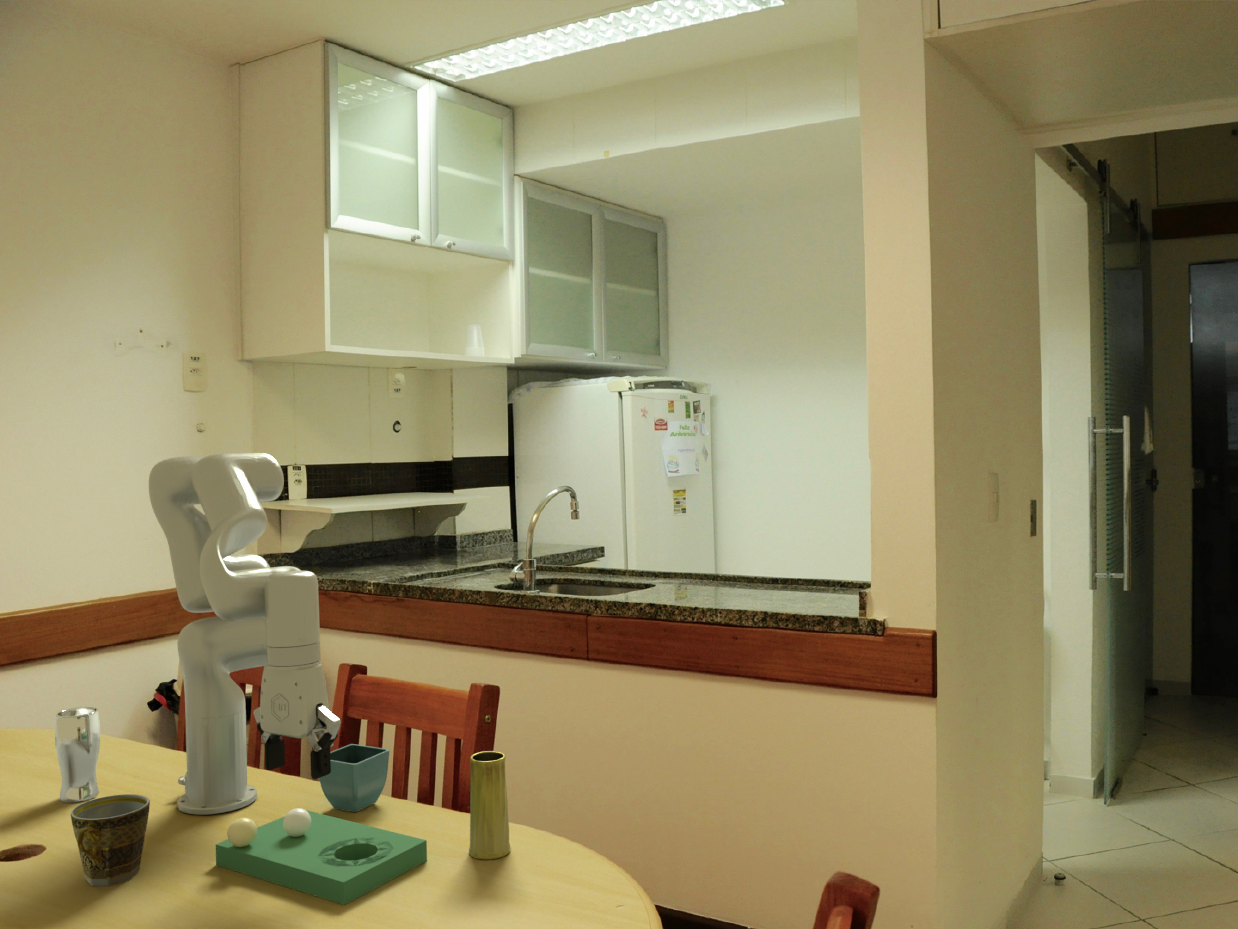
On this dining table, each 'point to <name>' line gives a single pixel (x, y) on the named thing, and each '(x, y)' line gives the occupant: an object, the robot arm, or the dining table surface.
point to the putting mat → (325, 857)
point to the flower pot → (355, 776)
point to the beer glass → (78, 752)
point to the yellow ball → (242, 832)
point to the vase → (488, 806)
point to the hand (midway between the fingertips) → (297, 772)
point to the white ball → (297, 822)
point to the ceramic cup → (111, 837)
